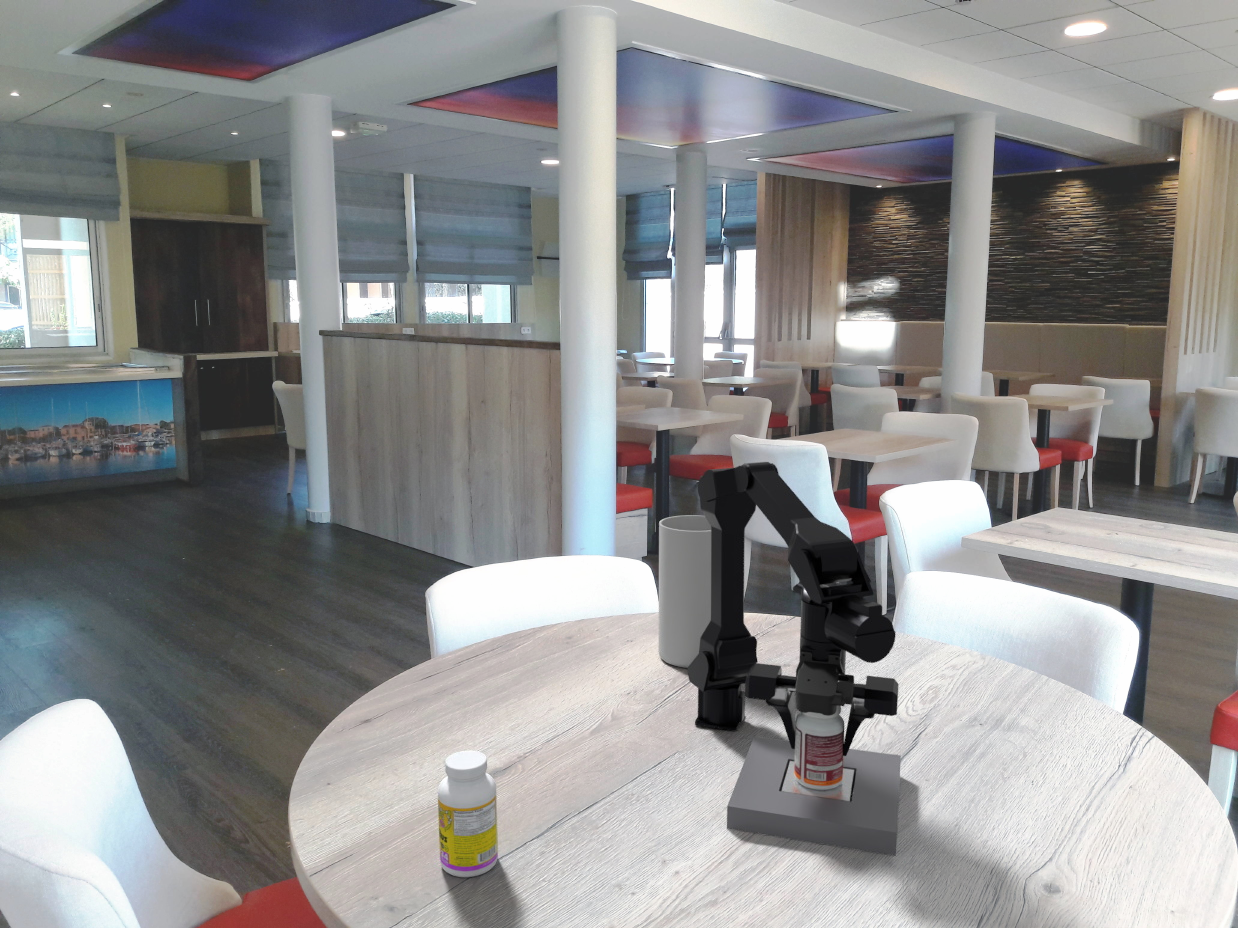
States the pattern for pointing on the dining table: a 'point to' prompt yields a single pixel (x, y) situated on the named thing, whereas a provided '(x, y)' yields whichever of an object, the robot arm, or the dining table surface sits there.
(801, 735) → the pill bottle
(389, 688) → the dining table surface
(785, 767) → the plate
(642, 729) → the dining table surface
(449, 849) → the supplement bottle
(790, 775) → the plunger pad
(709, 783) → the dining table surface
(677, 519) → the cylinder vase
